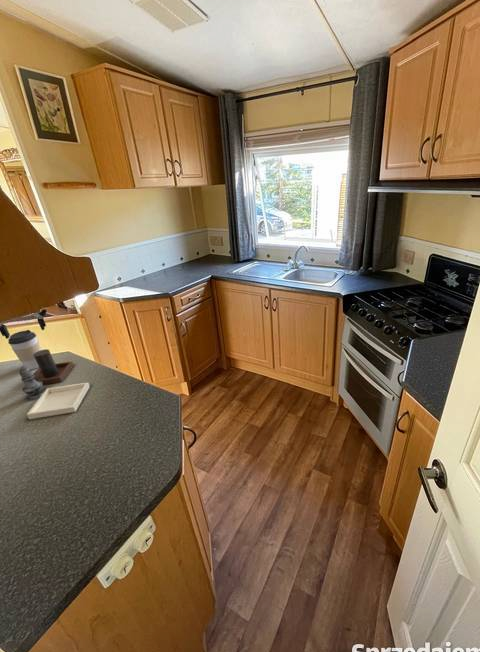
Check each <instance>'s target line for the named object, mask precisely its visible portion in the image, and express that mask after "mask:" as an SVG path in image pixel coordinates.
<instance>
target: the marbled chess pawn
mask: <svg viewBox="0 0 480 652" xmlns="http://www.w3.org/2000/svg"><path fill="white" fill-rule="evenodd" d="M18 372H19V375H20V377H21V381H22V382H23V383H24V386H23V387H22V389H21V392H23V393H24V394H26V395H27V396H26V397H27V400H35V399H39V398H40V397H41V396H42V394H43V393H44V392H45V390H46V389H43V385H44V384H43V383H42V382H40V381H38V382H37V381H36V380H35V379H34V375H33V373H32V371H31V369H29V368H25V367H24V365H22V366H21V369H19V371H18ZM42 384H43V385H42Z"/></svg>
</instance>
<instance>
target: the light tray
mask: <svg viewBox="0 0 480 652" xmlns="http://www.w3.org/2000/svg"><path fill="white" fill-rule="evenodd" d="M90 387H91V386H90V384H89V382H81V383H75V384H74V383H73V384H67V385H61V386H55V387H47V388H46V389H44V390H45V392H44V393H43V394H42V396H41V397H39V398H37V400H36V402H35V403H34V404H33V406H32V407H31V408H30V409H29V410H28V412H27V413H26V417H27V418H28V420H35V419H40V418H45V417H52V416H57V415H58V416H59V415H64V414H70V413H76V412H77V410H78V408H79V406H80V405H81V403H82V401H83V400H84V398H85V396H86V394H87V393H88V391H89V389H90Z"/></svg>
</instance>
